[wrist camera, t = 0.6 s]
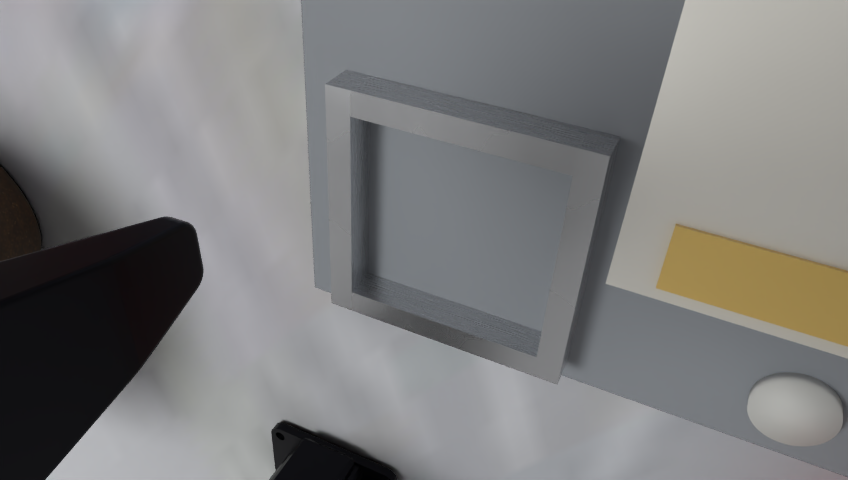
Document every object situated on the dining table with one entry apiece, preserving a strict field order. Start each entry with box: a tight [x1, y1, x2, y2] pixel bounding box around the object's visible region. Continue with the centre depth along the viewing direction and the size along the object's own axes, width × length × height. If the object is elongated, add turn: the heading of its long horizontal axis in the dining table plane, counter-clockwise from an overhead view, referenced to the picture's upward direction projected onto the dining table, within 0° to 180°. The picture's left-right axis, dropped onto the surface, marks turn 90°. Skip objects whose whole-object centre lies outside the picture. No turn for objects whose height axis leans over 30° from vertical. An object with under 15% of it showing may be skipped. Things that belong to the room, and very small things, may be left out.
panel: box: [301, 0, 848, 477], centre depth 18 cm, size 17×24×3 cm
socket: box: [325, 70, 621, 384], centre depth 22 cm, size 8×8×1 cm
